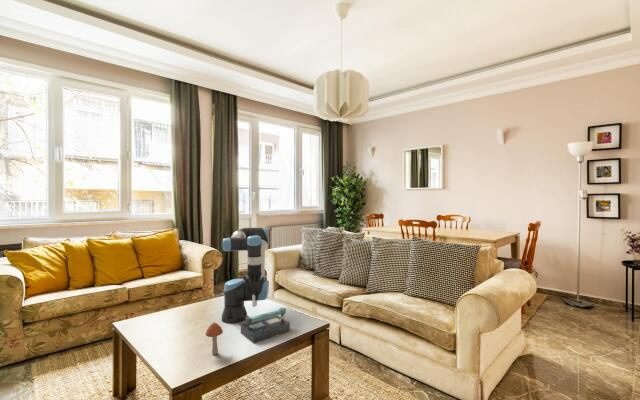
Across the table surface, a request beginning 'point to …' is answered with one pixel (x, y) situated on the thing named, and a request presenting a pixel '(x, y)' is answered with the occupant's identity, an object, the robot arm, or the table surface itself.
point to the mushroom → (214, 335)
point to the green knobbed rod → (265, 316)
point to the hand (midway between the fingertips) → (254, 306)
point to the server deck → (265, 328)
